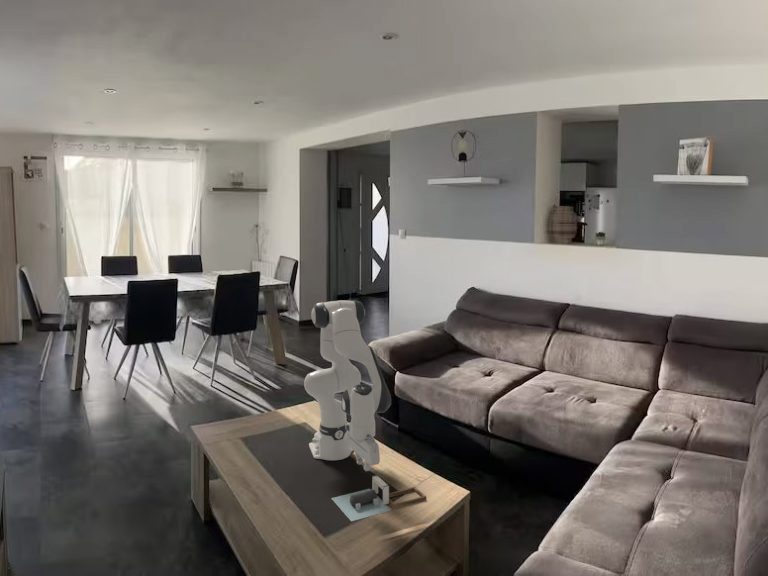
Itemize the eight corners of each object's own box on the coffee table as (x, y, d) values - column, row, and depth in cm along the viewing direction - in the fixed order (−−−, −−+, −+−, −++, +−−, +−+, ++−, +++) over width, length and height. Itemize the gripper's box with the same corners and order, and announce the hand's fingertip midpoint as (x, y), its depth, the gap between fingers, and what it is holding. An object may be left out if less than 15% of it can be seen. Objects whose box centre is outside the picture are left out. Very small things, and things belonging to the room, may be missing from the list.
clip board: (331, 500, 221) (331, 493, 220) (369, 490, 228) (369, 483, 227) (351, 524, 205) (351, 515, 204) (392, 512, 212) (392, 504, 212)
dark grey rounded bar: (350, 503, 216) (350, 493, 216) (372, 497, 220) (372, 487, 220) (354, 509, 213) (354, 498, 212) (376, 503, 217) (377, 493, 216)
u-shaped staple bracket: (372, 493, 223) (372, 476, 222) (377, 492, 224) (376, 475, 223) (384, 504, 215) (383, 487, 214) (388, 503, 216) (388, 486, 215)
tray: (383, 500, 221) (383, 494, 220) (414, 491, 227) (414, 486, 227) (394, 510, 213) (394, 505, 213) (426, 501, 219) (426, 496, 219)
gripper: (384, 439, 205) (384, 476, 207) (358, 419, 223) (359, 454, 225) (367, 442, 202) (368, 480, 204) (343, 422, 220) (343, 458, 222)
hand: (363, 466), depth 215 cm, fingers open, 4 cm apart
